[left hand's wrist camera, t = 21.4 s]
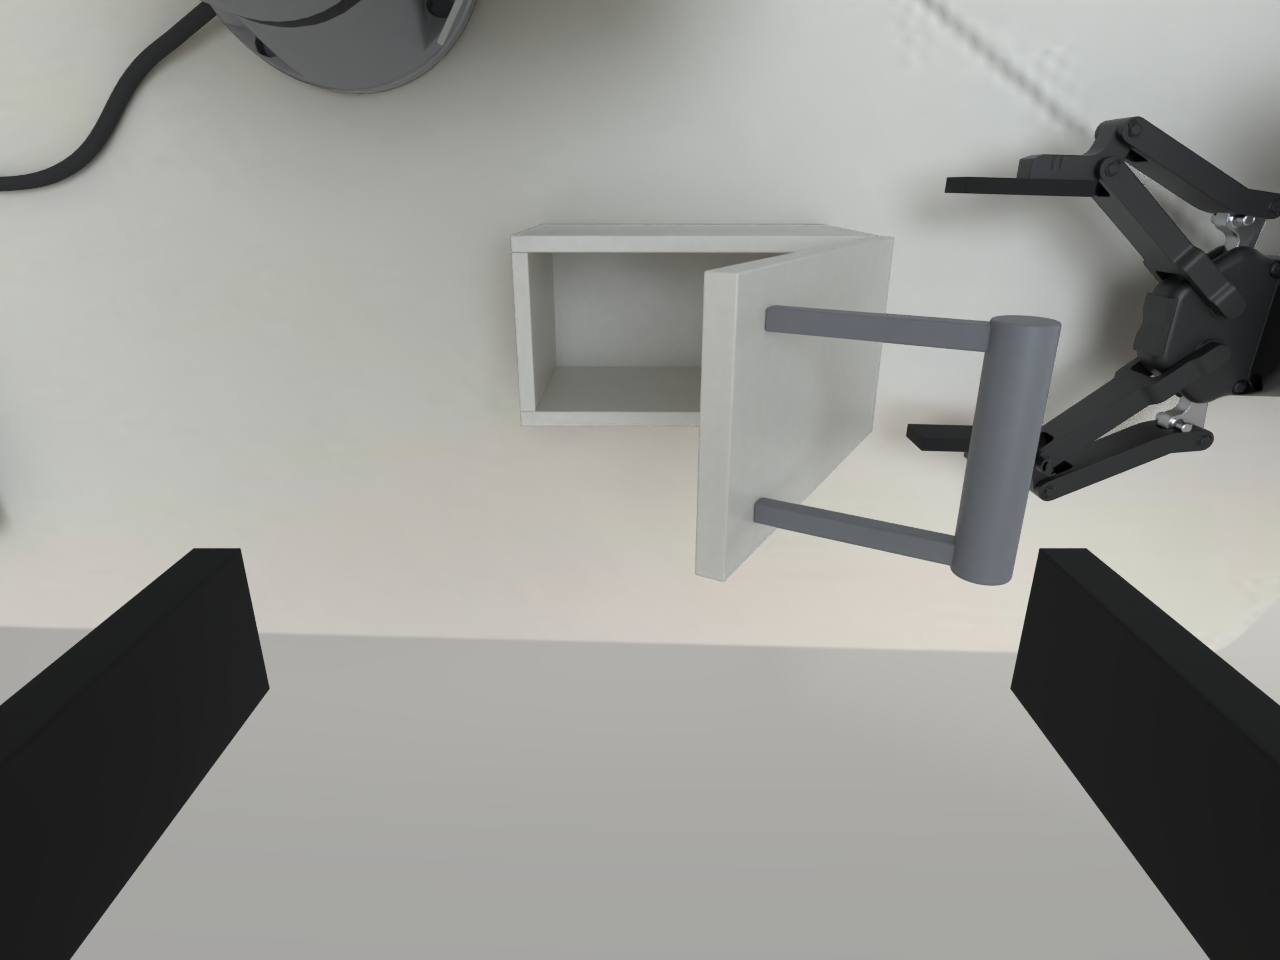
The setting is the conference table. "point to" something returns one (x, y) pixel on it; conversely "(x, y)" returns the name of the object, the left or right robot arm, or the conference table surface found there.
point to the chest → (627, 314)
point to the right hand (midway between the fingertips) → (933, 318)
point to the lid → (849, 408)
